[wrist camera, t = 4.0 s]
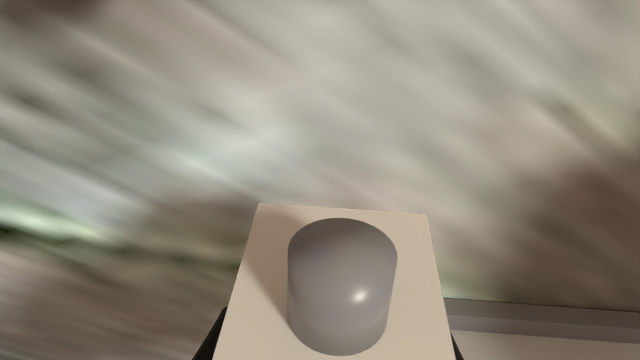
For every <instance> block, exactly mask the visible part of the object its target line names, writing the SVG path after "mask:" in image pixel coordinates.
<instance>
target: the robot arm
mask: <svg viewBox="0 0 640 360" xmlns="http://www.w3.org/2000/svg"><path fill="white" fill-rule="evenodd" d="M227 308H228V307H225V308H224V309H222V311H221V313H220V315H219V317H218V319H217V320H216V322H215V324H214V326H213V327H212V329H211V331H210V332H209V334H208V336H207V337H206V339H205V340H204V342H203V344H202V345H201V347H200V348H199V350H198V351H197V353H196V354H195V356H194V357H193V359H192V360H212V359H213V355H214V352H215V349H216V345H217V342H218V339H219V335H220V332H221V328H222V325H223V322H224V318H225V315H226V312H227ZM450 334H451V339H452V344H453V349H454V354H455V359H456V360H464V359H463V357H462V355H461V353H460V350H459V348H458V346H457V344H456V342H455V340H454V338H453V336H452V333H451V331H450Z"/></svg>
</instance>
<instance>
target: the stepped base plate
mask: <svg viewBox="0 0 640 360" xmlns="http://www.w3.org/2000/svg"><path fill="white" fill-rule="evenodd" d="M443 300H444V305H445V310H446V315H447V319H448V324H449V329H450V331H451V333H452V336H453V338H454V340H455V342H456V344H457V346H458V348H459V350H460V353H461V355H462V357H463V359H464V360H640V313H639V312H625V311H612V310H598V309H584V308H571V307H557V306H544V305H530V304H517V303H503V302H489V301H476V300H462V299H449V298H443Z"/></svg>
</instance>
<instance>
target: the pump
mask: <svg viewBox="0 0 640 360" xmlns="http://www.w3.org/2000/svg"><path fill="white" fill-rule="evenodd" d="M212 360H456V359H455V354H454V349H453V344H452V339H451V334H450V329H449V324H448V319H447V315H446V310H445V305H444V300H443V295H442V290H441V285H440V280H439V276H438V271H437V266H436V261H435V256H434V251H433V246H432V241H431V236H430V232H429V227H428V222H427V217H426V214H416V213H401V212H386V211H372V210H357V209H342V208H328V207H313V206H298V205H284V204H269V203H259V204H258V207H257V210H256V214H255V217H254V220H253V224H252V227H251V231H250V234H249V237H248V241H247V244H246V247H245V251H244V254H243V258H242V261H241V264H240V268H239V271H238V274H237V278H236V281H235V285H234V288H233V291H232V295H231V298H230V301H229V305H228V308H227V312H226V315H225V318H224V322H223V325H222V328H221V332H220V335H219V339H218V342H217V345H216V349H215V352H214V355H213V359H212Z"/></svg>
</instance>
